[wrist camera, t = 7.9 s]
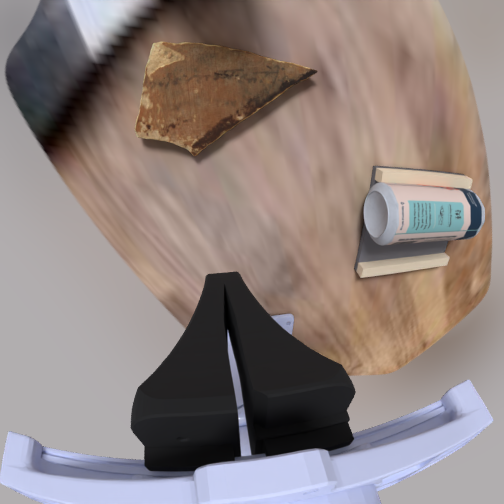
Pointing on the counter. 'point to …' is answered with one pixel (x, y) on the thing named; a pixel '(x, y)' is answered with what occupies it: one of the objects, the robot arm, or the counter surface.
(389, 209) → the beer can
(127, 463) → the robot arm
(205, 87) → the shard
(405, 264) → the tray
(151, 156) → the counter surface
